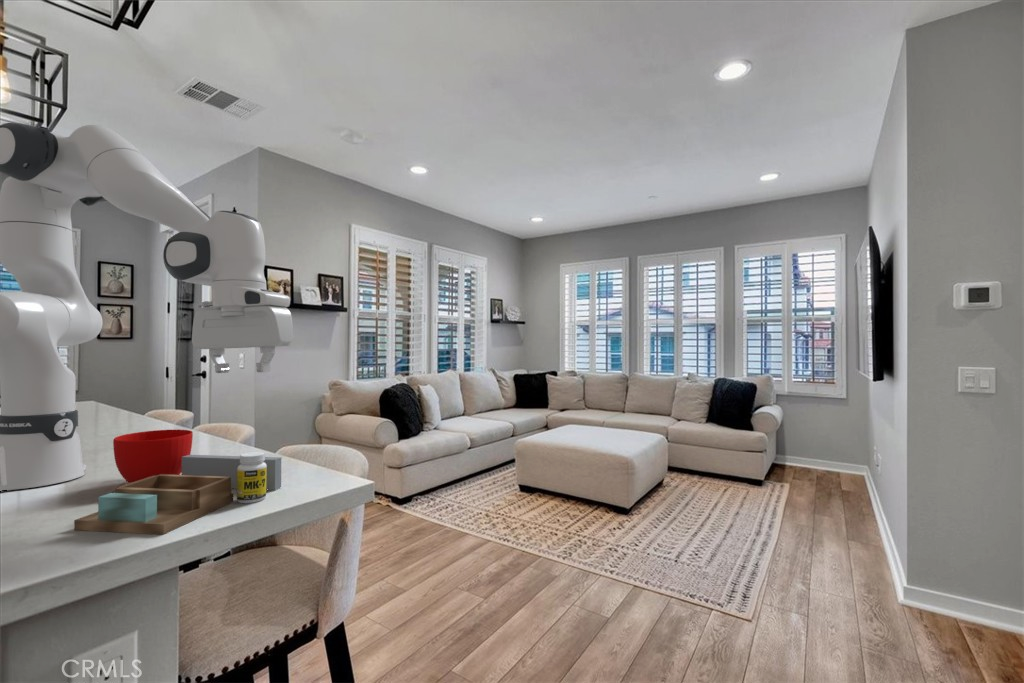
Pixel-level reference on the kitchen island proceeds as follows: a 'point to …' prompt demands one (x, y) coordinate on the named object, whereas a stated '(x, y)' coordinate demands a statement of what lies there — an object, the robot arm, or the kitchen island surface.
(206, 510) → the divided wooden tray
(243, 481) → the supplement bottle
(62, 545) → the kitchen island surface
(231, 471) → the board
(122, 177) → the robot arm
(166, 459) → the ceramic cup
